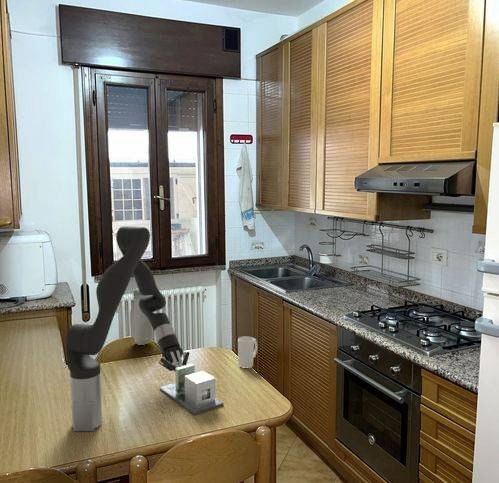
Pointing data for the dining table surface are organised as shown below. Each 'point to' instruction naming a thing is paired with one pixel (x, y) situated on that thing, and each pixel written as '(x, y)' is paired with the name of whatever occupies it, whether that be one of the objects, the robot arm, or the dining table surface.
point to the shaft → (180, 378)
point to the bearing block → (195, 393)
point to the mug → (246, 351)
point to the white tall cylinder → (139, 321)
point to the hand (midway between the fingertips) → (182, 378)
